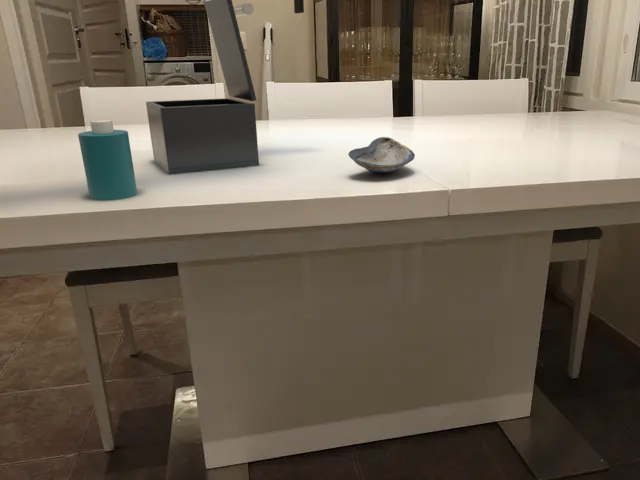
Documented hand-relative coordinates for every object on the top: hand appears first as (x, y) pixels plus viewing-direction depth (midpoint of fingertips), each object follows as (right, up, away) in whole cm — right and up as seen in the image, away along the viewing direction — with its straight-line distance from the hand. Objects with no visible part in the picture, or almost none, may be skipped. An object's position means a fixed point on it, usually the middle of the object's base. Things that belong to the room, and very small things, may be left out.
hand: (264, 11), depth 100 cm
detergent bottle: (-19, -36, -19) cm, 45 cm away
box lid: (-6, -7, -1) cm, 10 cm away
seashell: (+21, -30, -4) cm, 37 cm away
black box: (-12, -27, +4) cm, 29 cm away
